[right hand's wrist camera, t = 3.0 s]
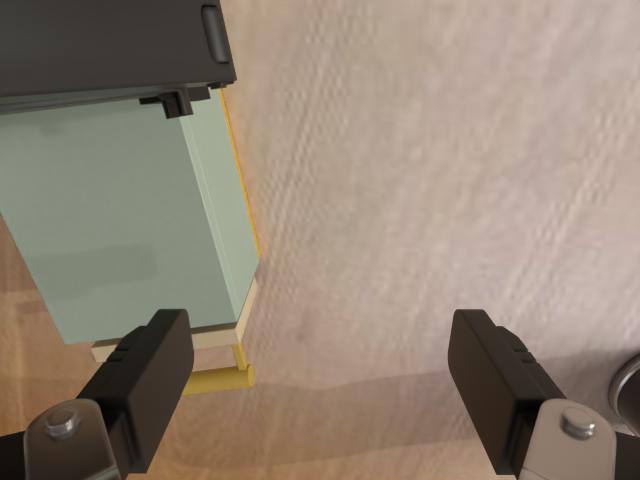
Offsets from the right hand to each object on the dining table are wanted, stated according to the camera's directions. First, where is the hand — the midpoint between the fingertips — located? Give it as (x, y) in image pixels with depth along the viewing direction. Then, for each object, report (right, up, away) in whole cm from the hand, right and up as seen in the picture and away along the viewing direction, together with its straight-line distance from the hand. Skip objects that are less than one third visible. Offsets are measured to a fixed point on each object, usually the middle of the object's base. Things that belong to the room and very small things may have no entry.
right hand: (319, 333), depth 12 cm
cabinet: (-12, +9, +18) cm, 23 cm away
